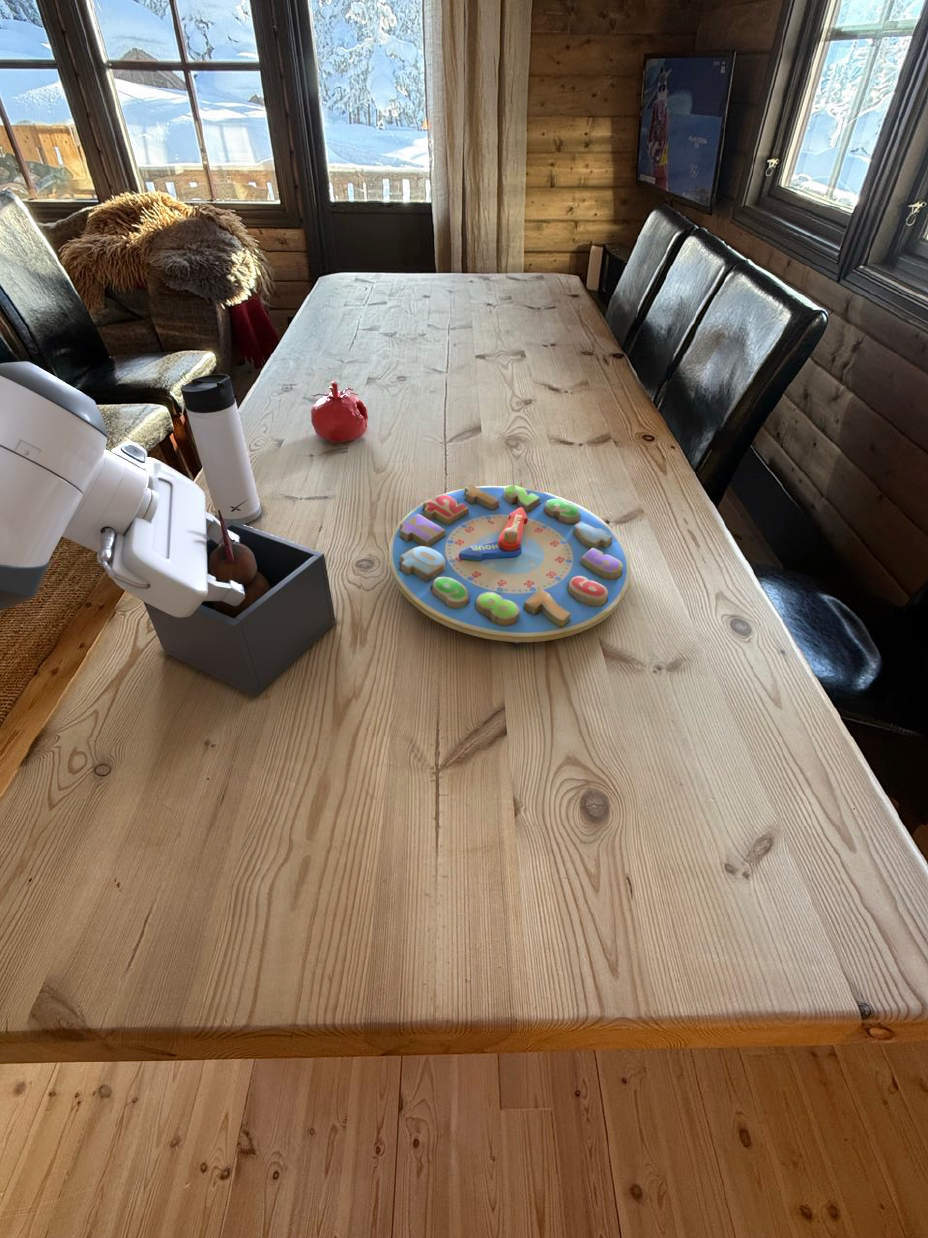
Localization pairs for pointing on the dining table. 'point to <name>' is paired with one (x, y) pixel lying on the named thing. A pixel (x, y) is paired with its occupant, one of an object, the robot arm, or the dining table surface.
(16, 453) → the robot arm
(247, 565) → the wooden figurine
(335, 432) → the pomegranate
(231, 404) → the travel mug
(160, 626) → the tote
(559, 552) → the shape sorting clock
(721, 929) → the dining table surface
